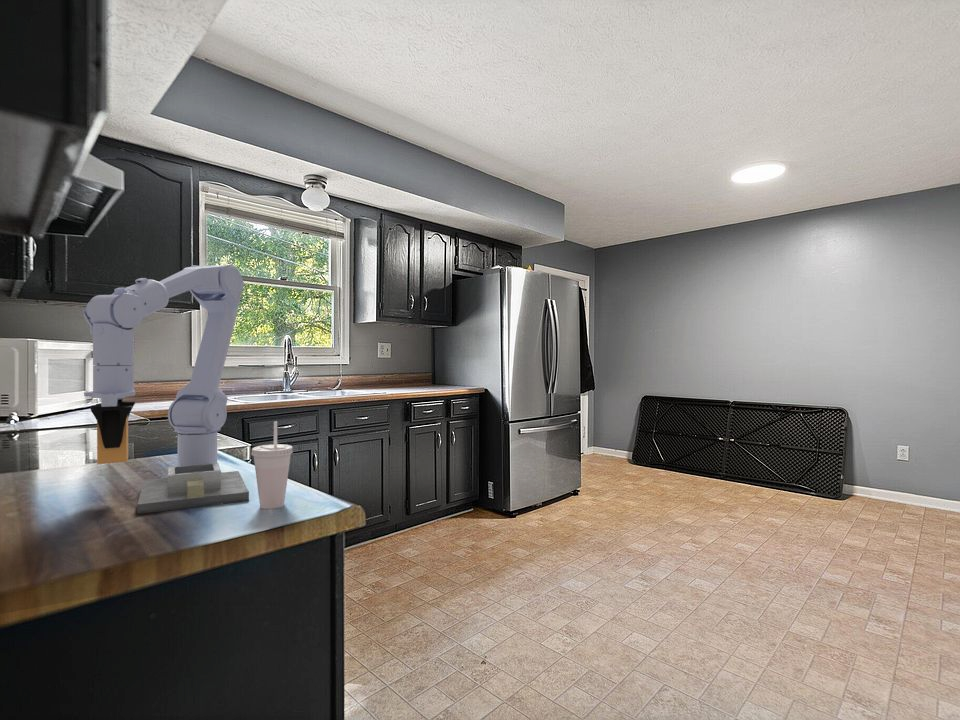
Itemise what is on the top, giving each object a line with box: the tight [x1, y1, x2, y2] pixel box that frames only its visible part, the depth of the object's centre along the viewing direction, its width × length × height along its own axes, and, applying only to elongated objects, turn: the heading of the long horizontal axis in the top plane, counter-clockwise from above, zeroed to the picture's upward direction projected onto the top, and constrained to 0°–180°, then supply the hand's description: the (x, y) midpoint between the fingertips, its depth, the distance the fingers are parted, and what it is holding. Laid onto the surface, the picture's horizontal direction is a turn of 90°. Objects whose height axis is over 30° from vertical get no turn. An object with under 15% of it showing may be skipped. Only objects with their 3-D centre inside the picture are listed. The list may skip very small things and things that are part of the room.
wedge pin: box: [96, 416, 129, 465], centre depth 90 cm, size 4×4×8 cm
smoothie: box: [251, 420, 294, 510], centre depth 87 cm, size 6×6×14 cm
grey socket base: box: [136, 462, 250, 515], centre depth 94 cm, size 18×16×4 cm
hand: (113, 445), depth 90 cm, fingers closed on wedge pin, 4 cm apart
